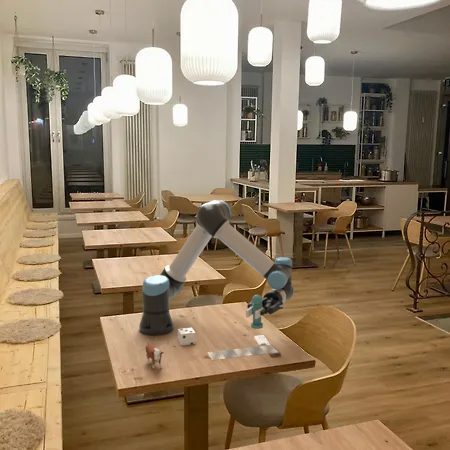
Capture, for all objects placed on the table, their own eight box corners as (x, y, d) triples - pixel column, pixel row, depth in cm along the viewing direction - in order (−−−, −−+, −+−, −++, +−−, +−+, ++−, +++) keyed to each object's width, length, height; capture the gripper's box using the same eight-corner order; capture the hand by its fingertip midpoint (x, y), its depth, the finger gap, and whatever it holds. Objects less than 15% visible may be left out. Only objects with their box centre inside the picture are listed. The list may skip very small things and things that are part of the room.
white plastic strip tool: (261, 351, 199) (261, 348, 199) (252, 337, 214) (252, 335, 214) (273, 350, 200) (273, 348, 200) (264, 337, 215) (264, 334, 215)
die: (180, 348, 201) (180, 333, 200) (177, 342, 206) (177, 328, 206) (195, 346, 202) (195, 332, 202) (191, 341, 208) (191, 327, 207)
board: (211, 364, 186) (211, 361, 186) (204, 354, 195) (204, 351, 194) (280, 355, 194) (280, 352, 194) (271, 346, 203) (271, 344, 203)
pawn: (253, 329, 192) (253, 297, 190) (249, 325, 196) (249, 293, 194) (264, 328, 193) (264, 296, 191) (260, 324, 197) (260, 292, 195)
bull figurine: (153, 375, 177) (153, 353, 176) (144, 360, 189) (144, 340, 188) (165, 372, 179) (165, 351, 177) (155, 358, 191) (155, 338, 189)
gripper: (292, 310, 206) (270, 327, 185) (256, 304, 213) (232, 320, 193) (292, 292, 205) (271, 308, 184) (257, 287, 212) (232, 302, 192)
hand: (251, 314), depth 189 cm, fingers closed on pawn, 3 cm apart
